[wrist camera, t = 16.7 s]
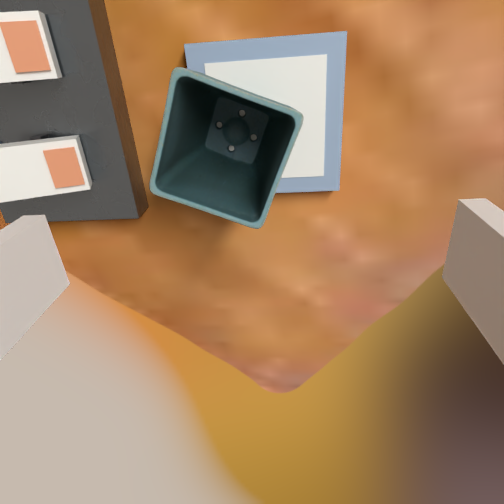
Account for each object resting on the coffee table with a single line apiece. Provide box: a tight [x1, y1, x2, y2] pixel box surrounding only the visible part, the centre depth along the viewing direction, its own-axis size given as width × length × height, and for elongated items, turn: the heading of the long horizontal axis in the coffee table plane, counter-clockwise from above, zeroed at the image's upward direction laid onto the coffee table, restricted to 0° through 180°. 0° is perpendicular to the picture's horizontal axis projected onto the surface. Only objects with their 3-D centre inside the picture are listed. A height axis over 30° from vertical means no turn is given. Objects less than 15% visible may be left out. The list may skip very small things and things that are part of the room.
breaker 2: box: [0, 135, 92, 203], centre depth 32 cm, size 4×8×2 cm, turn 94°
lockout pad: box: [184, 31, 347, 193], centre depth 33 cm, size 13×13×2 cm
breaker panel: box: [0, 0, 148, 223], centre depth 33 cm, size 20×14×4 cm
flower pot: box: [149, 67, 304, 229], centre depth 29 cm, size 9×9×9 cm
